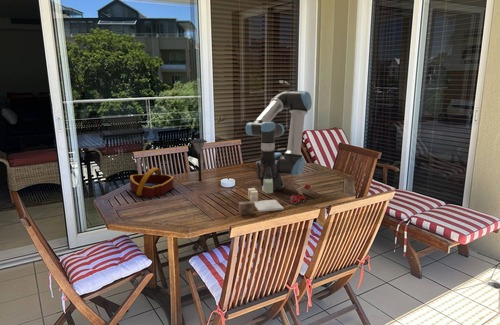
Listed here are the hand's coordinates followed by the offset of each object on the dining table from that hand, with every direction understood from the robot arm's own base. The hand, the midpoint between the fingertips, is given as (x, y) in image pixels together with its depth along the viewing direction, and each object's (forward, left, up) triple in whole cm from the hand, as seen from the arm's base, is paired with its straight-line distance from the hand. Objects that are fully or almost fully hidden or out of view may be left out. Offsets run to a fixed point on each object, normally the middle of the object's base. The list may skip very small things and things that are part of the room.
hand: (267, 190), depth 208 cm
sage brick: (0, 0, 0) cm, 0 cm away
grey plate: (0, 0, -9) cm, 9 cm away
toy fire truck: (-3, +21, -10) cm, 24 cm away
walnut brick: (+7, -14, -10) cm, 18 cm away
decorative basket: (-52, -65, -10) cm, 83 cm away
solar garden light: (-65, -31, -10) cm, 73 cm away
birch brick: (-14, -5, -10) cm, 18 cm away
